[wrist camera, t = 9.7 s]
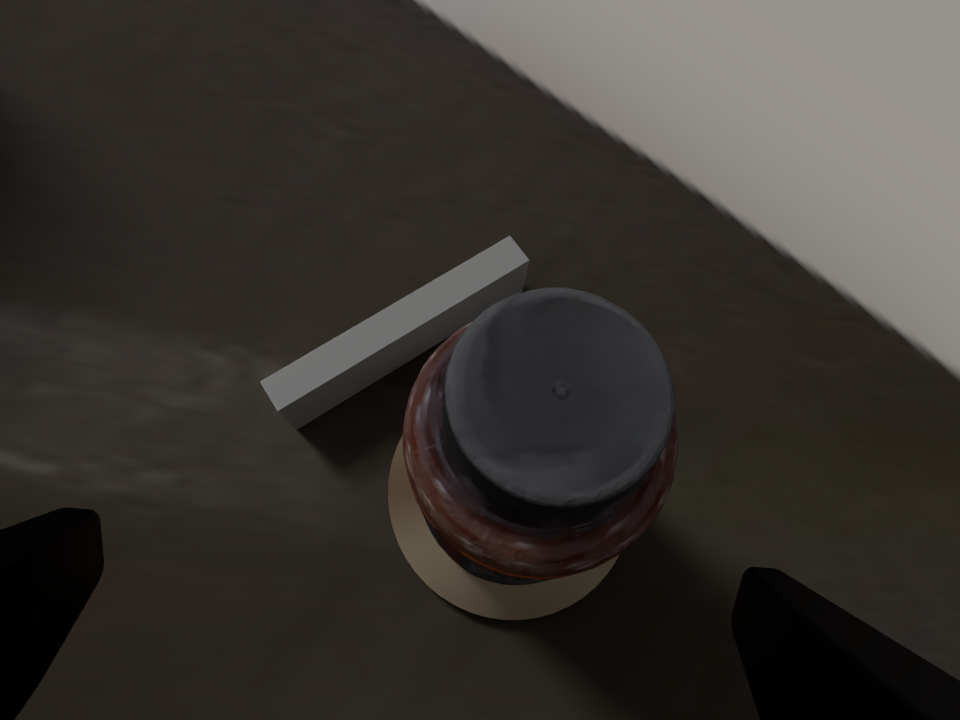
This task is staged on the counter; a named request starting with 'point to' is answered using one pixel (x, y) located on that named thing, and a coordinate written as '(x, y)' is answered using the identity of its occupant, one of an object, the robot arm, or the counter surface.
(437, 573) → the oak coaster
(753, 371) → the counter surface
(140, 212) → the counter surface
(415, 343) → the grey rectangular bar
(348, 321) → the counter surface
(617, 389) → the supplement bottle
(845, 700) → the robot arm
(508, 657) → the counter surface
